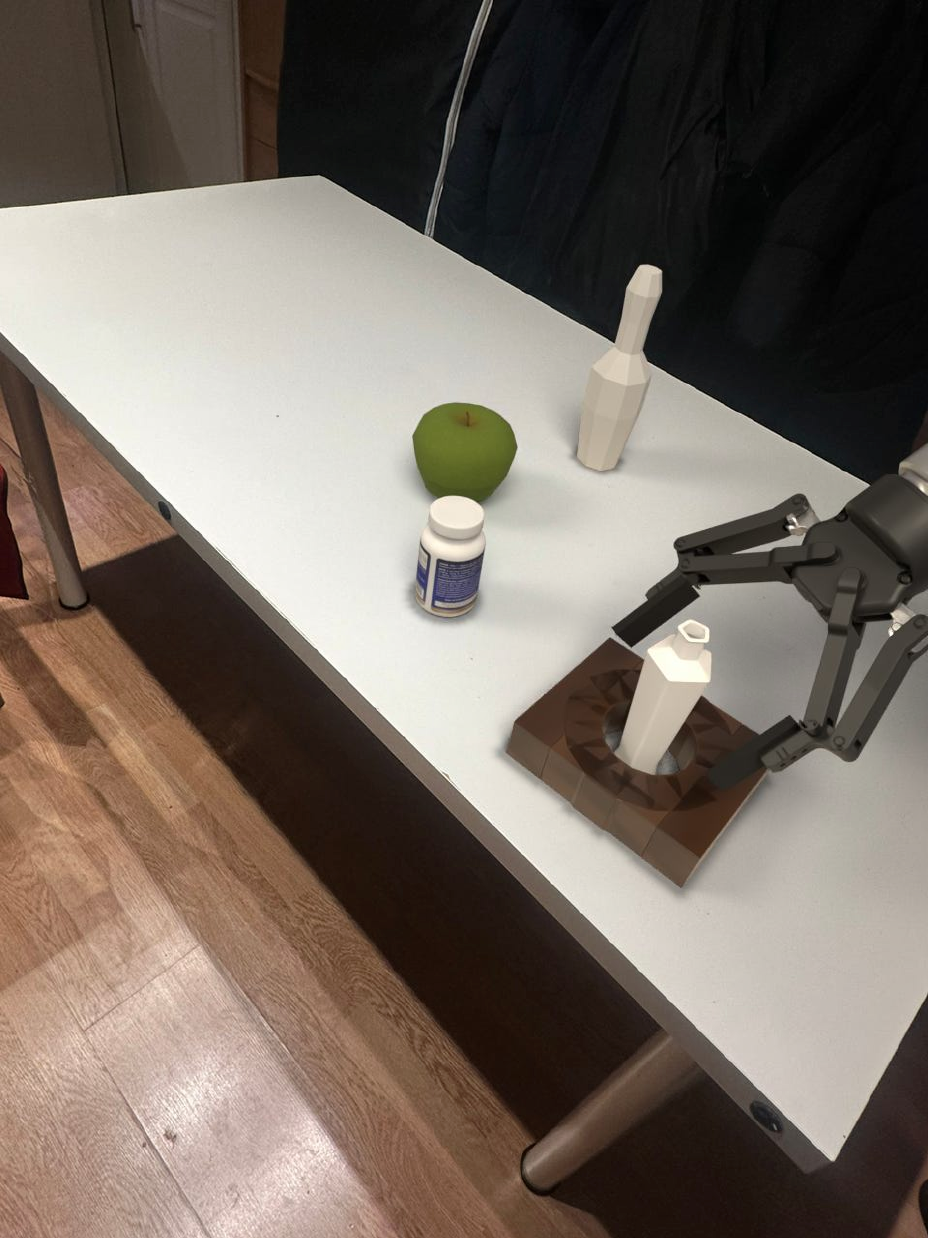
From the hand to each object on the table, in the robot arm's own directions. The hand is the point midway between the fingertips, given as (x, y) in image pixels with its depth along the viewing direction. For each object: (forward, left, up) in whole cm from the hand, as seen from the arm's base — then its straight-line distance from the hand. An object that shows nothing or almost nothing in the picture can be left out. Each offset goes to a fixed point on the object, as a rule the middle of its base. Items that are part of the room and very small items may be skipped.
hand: (664, 705), depth 59 cm
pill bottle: (+23, -3, -8) cm, 25 cm away
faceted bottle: (+27, -34, -8) cm, 45 cm away
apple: (+33, -16, -8) cm, 38 cm away
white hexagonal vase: (0, 0, -8) cm, 8 cm away
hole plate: (0, 0, -8) cm, 8 cm away
